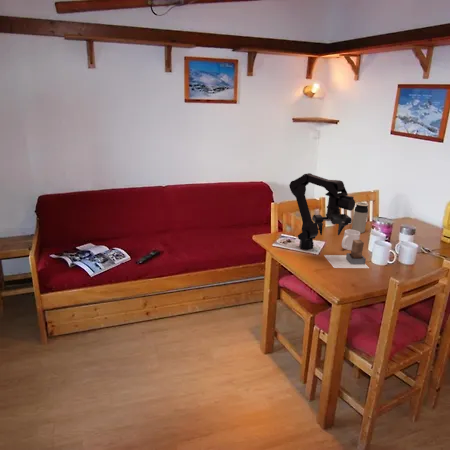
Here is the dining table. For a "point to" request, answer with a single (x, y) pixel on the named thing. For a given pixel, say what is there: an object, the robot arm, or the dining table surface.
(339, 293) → the dining table surface
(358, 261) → the block
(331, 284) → the dining table surface
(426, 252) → the dining table surface
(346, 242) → the mug
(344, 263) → the board
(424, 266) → the dining table surface
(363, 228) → the travel mug
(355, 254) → the post
